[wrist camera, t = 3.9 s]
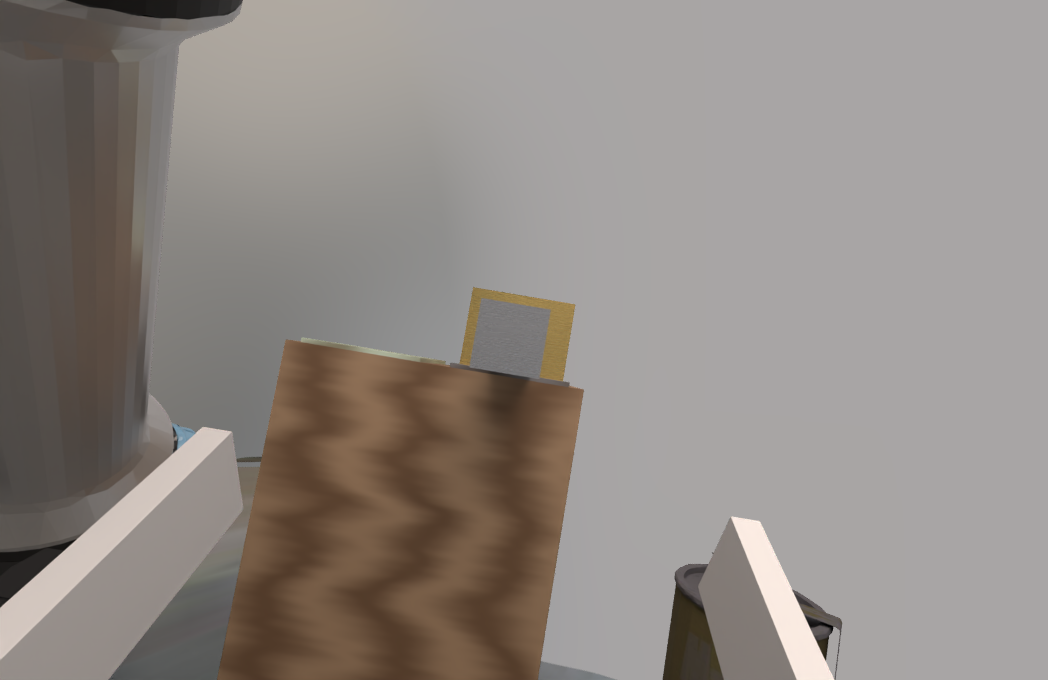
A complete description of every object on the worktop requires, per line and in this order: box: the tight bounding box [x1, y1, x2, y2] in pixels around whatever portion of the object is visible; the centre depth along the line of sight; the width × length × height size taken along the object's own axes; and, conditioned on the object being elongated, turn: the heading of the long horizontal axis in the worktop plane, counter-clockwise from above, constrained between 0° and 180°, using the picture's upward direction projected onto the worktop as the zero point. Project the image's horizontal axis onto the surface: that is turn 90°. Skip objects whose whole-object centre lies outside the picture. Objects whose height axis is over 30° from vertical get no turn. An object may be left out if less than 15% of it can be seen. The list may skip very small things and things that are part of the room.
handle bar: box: [460, 287, 575, 381], centre depth 31 cm, size 8×24×6 cm, turn 1°
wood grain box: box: [217, 338, 584, 680], centre depth 37 cm, size 20×11×30 cm, turn 91°
